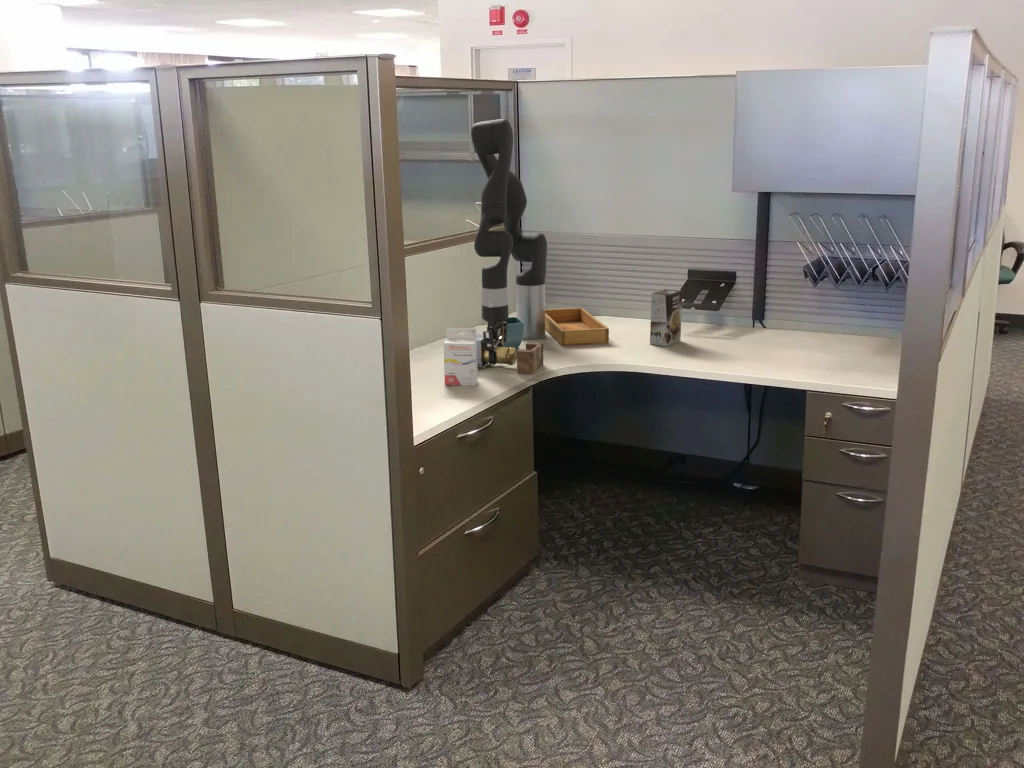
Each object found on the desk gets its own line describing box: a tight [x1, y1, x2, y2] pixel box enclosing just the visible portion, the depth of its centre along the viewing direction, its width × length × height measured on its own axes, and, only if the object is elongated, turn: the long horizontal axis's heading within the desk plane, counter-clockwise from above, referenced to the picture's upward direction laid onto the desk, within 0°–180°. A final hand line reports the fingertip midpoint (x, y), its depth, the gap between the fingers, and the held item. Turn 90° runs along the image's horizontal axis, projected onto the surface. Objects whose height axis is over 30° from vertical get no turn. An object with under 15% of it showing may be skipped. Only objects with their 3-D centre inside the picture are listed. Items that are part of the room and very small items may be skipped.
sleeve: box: [460, 332, 489, 370], centre depth 262 cm, size 8×8×8 cm
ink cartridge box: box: [443, 327, 478, 386], centre depth 243 cm, size 9×5×15 cm, turn 86°
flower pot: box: [503, 316, 524, 350], centre depth 279 cm, size 9×9×9 cm
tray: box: [545, 307, 610, 347], centre depth 298 cm, size 31×15×6 cm, turn 11°
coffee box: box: [649, 288, 684, 347], centre depth 283 cm, size 9×6×16 cm
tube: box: [482, 345, 518, 366], centre depth 261 cm, size 16×5×5 cm, turn 71°
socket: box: [516, 341, 544, 376], centre depth 257 cm, size 10×4×6 cm, turn 161°
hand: (496, 361), depth 260 cm, fingers closed on tube, 4 cm apart
